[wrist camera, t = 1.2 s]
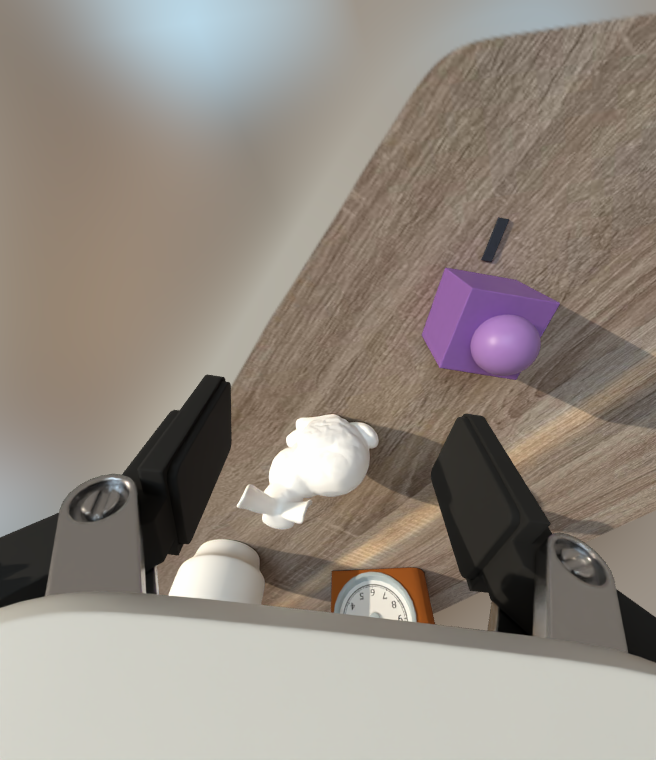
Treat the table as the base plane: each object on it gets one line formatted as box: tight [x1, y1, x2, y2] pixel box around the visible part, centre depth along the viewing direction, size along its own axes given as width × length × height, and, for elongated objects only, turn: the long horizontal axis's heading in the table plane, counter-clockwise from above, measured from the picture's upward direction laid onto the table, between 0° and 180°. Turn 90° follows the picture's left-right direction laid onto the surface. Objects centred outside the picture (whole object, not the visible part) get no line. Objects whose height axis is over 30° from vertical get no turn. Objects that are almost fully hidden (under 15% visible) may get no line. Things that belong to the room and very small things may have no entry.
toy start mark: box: [482, 218, 509, 262], centre depth 23 cm, size 3×1×1 cm, turn 171°
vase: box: [168, 539, 265, 605], centre depth 37 cm, size 13×13×28 cm
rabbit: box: [237, 414, 379, 529], centre depth 29 cm, size 12×9×12 cm
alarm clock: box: [331, 568, 435, 624], centre depth 46 cm, size 15×8×14 cm, turn 100°
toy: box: [422, 268, 560, 380], centre depth 22 cm, size 6×6×9 cm
